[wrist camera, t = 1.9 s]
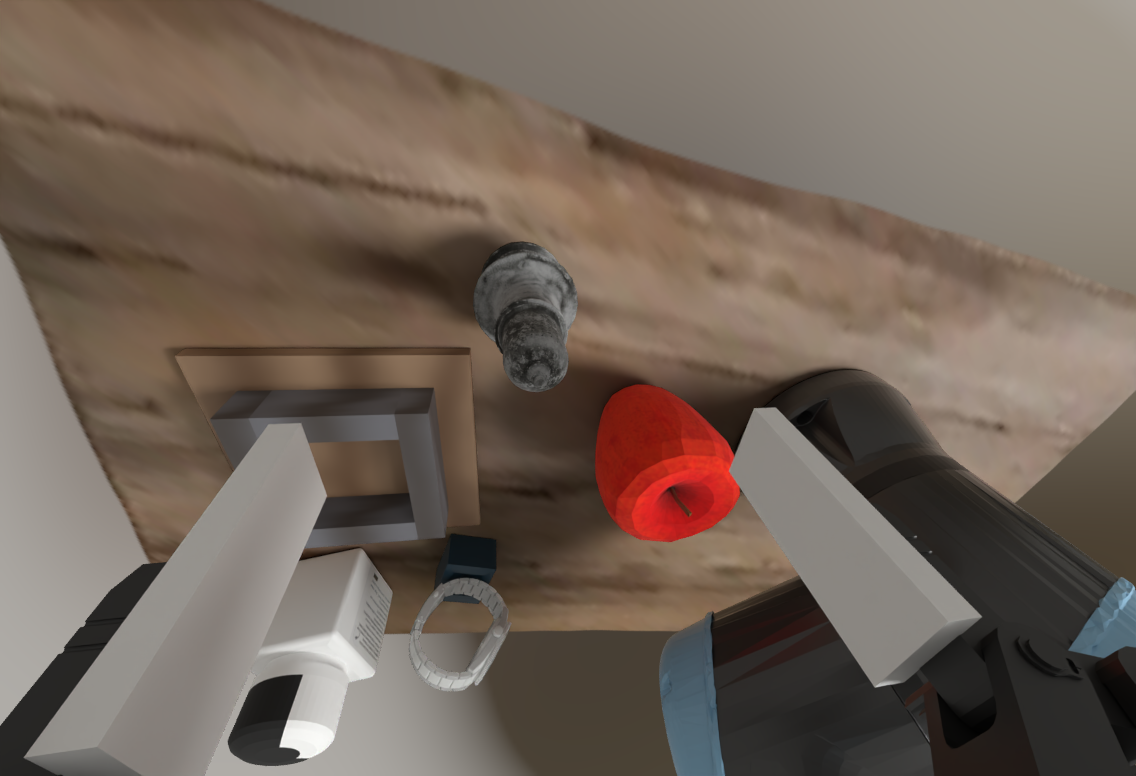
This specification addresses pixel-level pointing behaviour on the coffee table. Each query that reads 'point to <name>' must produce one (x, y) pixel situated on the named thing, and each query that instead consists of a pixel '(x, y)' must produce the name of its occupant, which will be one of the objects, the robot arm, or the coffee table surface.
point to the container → (312, 658)
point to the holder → (356, 430)
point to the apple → (661, 466)
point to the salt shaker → (527, 313)
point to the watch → (466, 582)
